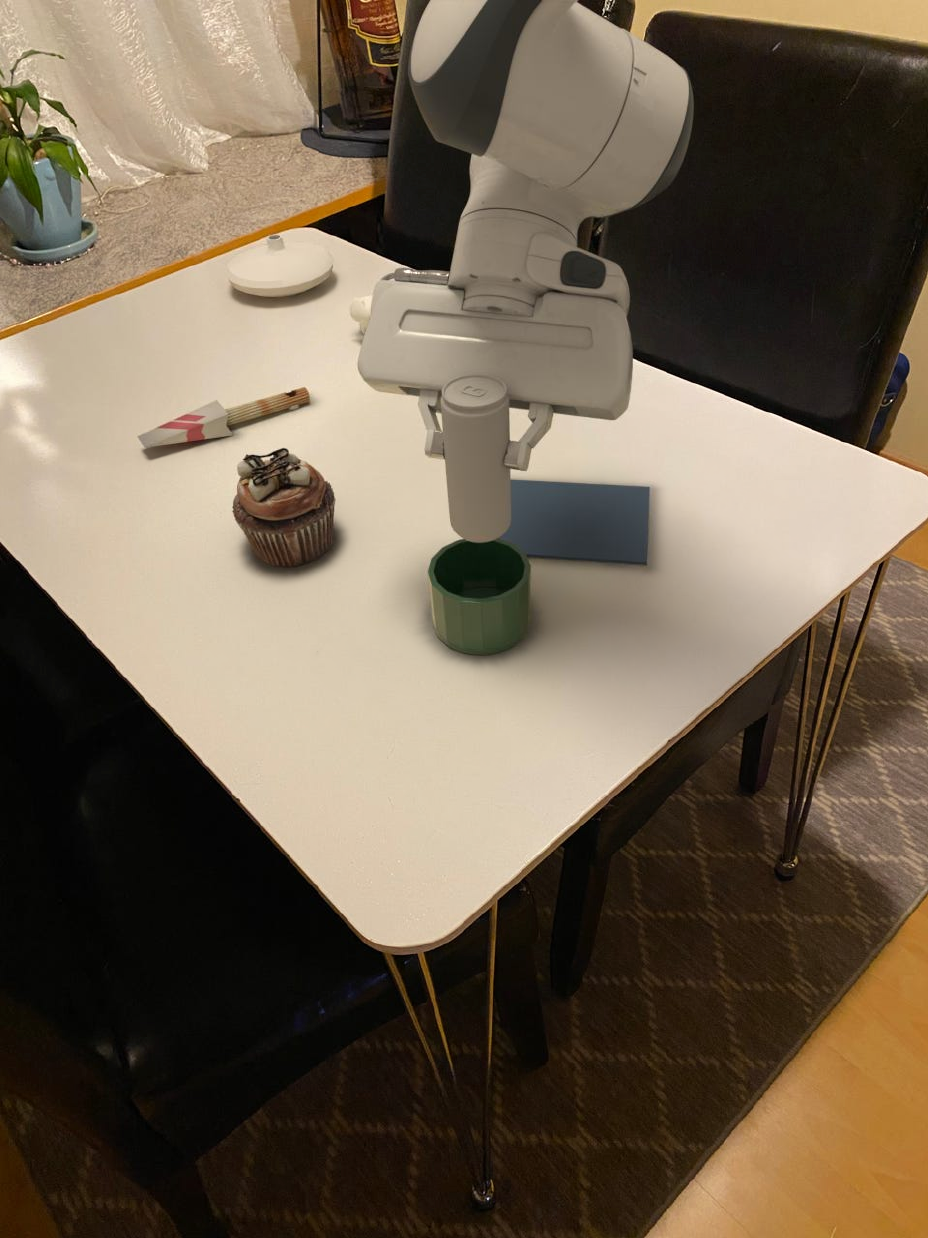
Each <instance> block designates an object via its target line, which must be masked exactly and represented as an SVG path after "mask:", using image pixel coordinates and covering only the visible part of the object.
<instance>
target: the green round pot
mask: <svg viewBox="0 0 928 1238" xmlns="http://www.w3.org/2000/svg"><path fill="white" fill-rule="evenodd" d="M427 568H428V569H427V579H428V589H429V598H430V599H429V600H430V609H431V619H432V622H433V628H434V632H435V633H436V635H437V637H438V638H439V640H440V641H441V642H442V643H443V644H445V645H446V646H447V647H449V648H451V649H452V650H453V651H457V652H459V653H462V654H467V655H473V656H474V655H475V656H481V655H482V656H484V655H485V656H487V655H493V654H498V653H501V652H504V651H507V650H508V649H510V648H512V647H514V646H515V645H517V644H518V643H520V642H521V641H522V640H523V638H524V637H525V636H526V634H527V633H528V631H529V629H530V625H531V614H532V565H531V563H530V560H529V557H527V556H526V553H525V552H523V551H522V550H521V549H520V548H518V547H517V546H516V545H515V544H513V543H511V542H508V541H505V540H502V539H499V538H497V539H495V540H492V541H489V542H482V543H477V542H471V541H467V540H465V539H463V538H460V539H458V540H455V541H453V542H451V543H449V544H446V545H445V546H443V547H441V548H440V549H439V550H438V552H436V553H435V554H434V555H433V556H432V558H431V559H430V562H429V566H428V567H427Z"/></svg>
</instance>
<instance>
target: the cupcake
mask: <svg viewBox="0 0 928 1238" xmlns="http://www.w3.org/2000/svg"><path fill="white" fill-rule="evenodd" d="M263 458H269V459H267V460H263ZM236 466H237V469H236V471H237V475H238V476H239V477H240V478H239V480H238V482H237V485H236V495H235V496H234V498H233V500H232V510H231V512H232V514H233V517H234V521H235V522H236V524H237V525H238V527H239V528H240V530H241V531H242V533H243V534H244V535H245V537H246V539H247V541H248V543H249V546H250V547H251V550H252V551H253V552H254V554H255V555H256V556H257V558H259V559H260V561H261V562H264V563H266V564H267V565H269V566H273V567H276V568H277V567H278V568H297V567H300V566H303V565H305V564H308V563H312V562H314V561H317V560H318V559H320V558H322V556H324V555H325V553H327V552H328V551H329V550H330V548H331V546H332V545H333V541H334V523H335V521H334V518H335V506H336V500H337V499H336V497H335V491H334V488H333V487H332V485H331V483H330V482H329V481H328V480H325V478H324V476H323V475H322V473H321V472H319V470H318V469H316V468H315V467H314V466H312V465H311V464H310V463H308V462H307V461H305V460H303V459H300V458H299V457H298V456H297V455H296V454H294V453H290V451H289V449H288V448H285V447H282V448H278V449H276V450H273V451H272V452H270V453H268V454H263V455H258V454H253V453H252V454H247V453H246V454H245V456H244V458H242V460H241V461H240V462H239V461H238V463H237V465H236Z"/></svg>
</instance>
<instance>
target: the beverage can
mask: <svg viewBox="0 0 928 1238" xmlns="http://www.w3.org/2000/svg"><path fill="white" fill-rule="evenodd" d="M440 401H441V414H440V415H441V427H442V432H443V441H444V453H445V460H444V465H445V478H446V489H447V503H448V513H449V524H450V527H451V528H452V530H453V531H454V532H455V533H456V534H457V536H459V537H460V538H461V539H465V540H467V541H471V542H477V543H482V542H489V541H492V540H495V539H497V538H499V537H500V536H501V535H503V534H504V533H505V532H506V531H507V529H508V528H509V526H510V524H511V479H512V478H511V469H508V468H507V467H506V466H505V465H504V459H505V455H506V454H507V453H508V452H507V450H506V448H507V444H508V441H511V431H510V430H511V429H510V428H511V425H510V423H511V422H510V408H509V396H508V393H507V387H506V384H505V383H504V382H503V381H502V380H500V379H499V378H497V377H494V376H491V375H486V374H467V375H462V376H458V377H456V378H453V379H451V380H450V381H448V382H447V383H446V384H445V385H444V386H443V389H442V397H441V400H440Z"/></svg>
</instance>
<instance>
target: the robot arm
mask: <svg viewBox="0 0 928 1238" xmlns="http://www.w3.org/2000/svg"><path fill="white" fill-rule="evenodd" d="M578 1H579V0H429V2H428V3H427V5H426V7H425V8H424V11H423V13H422V15H421V18H420V19H419V22H418V24H417V27H416V31H415V33H414V36H413V39H412V42H411V45H410V51H409V55H408V56H409V57H408V60H407V61H408V62H407V63H408V64H407V75H408V80H409V84H410V87H411V91H412V94H413V97H414V99H415V102H416V104H417V108H418V110H419V112H420V114H421V116H422V118H423V120H424V122H425V124H426V126H427V128H428V130H429V132H430V133H431V136H432V137H433V139H434V140H435V141H436V142H438V143H439V144H443V145H447V146H449V147H452V148H455V149H458V150H461V151H462V152H466V153H468V154H471V157H470V162H469V179H470V192H469V197H468V200H467V203H466V205H465V207H464V208H463V210H462V213H461V215H460V218H459V222H458V227H457V232H456V238H455V239H456V240H455V242H454V249H453V255H452V259H451V264H450V271H448V270H437V269H436V270H435V269H426V270H423V269H422V270H420V269H419V270H418V269H413V268H410V267H399V268H395V269H394V272H391V273H388V274H385V275H384V276H383V277H381V279H379V280H378V281H376V283H375V285H374V288H373V293H372V295H373V297H372V303H371V317H370V320H369V323H368V326H367V329H366V332H365V334H363V338H362V342H361V346H360V349H359V354H358V357H357V363H356V364H357V370H358V371H357V372H358V373H359V375H360V377H361V379H362V380H363V381H364V383H365V384H367V385H368V386H369V387H370V388H372V389H373V390H374V391H377V392H378V393H385V394H393V395H399V396H400V395H401V396H402V395H403V396H408V397H409V396H410V397H417V398H418V401H417V406H418V409H419V412H420V415H421V417H422V420H423V424H424V426H425V429H426V430H427V432H426V433H427V434H426V439H425V444H424V455H425V456H426V457H428V458H429V459H437V460H444V461H445V453H444V441H443V430H442V429H441V425H440V422H439V419H438V416H437V414H439V415H441V401H440V400H441V397H442V389H443V386H444V385H445V384H446V383H447V382H448V381H450V380H451V379H453V378H456V377H458V376H462V375H467V374H486V375H491V376H494V377H497V378H499V379H500V380H502V381H503V382H504V383H505V384H506V387H507V393H508V396H509V409H516V410H524V411H528V414H527V418H528V419H529V421H530V422H531V424H530V426H529V427H528V429H527V430H526V431H525V432H524V434H523V435H522V436H521V437H520V439H519V440H518V441H516V440H510V441H508V444H507V448H506V450H507V452H508V453H507V454H506V455H505V459H504V465H505V466H506V467H507V468H508V469H510V470H514V471H515V470H516V471H521V472H528V469H529V466H530V465H529V464H530V459H531V454H532V450H533V449H535V448H536V446H537V445H538V444H539V443H540V441H541V440H542V439H543V438H544V436H545V435H546V434H547V433H548V432H549V431H550V430H551V428H552V423H553V417H554V414H555V415H565V416H573V417H580V418H589V419H597V420H605V421H616V420H618V419H619V418H621V416H622V415H624V413H626V412H627V410H628V409H629V406H630V401H631V394H632V386H633V385H632V384H633V369H634V347H633V340H632V333H631V329H630V326H629V321H628V318H627V317H628V314H629V310H630V305H631V304H630V303H631V293H630V287H629V286H630V285H629V284H628V280H627V277H626V275H625V273H624V271H623V269H622V267H621V266H620V265H619V264H617V263H616V262H613V261H611V260H609V259H606V258H604V257H601V256H599V255H597V254H594V253H592V252H589V251H587V250H586V249H582V248H581V247H578V232H579V228H580V225H581V224H582V222H584V220H586V219H587V218H590V217H593V218H594V219H595V218H596V219H604V218H608V217H613V216H615V215H616V216H617V215H619V214H622V213H625V212H629V211H631V210H633V209H636V208H638V207H641V206H643V205H644V204H646V203H648V202H650V201H651V200H653V199H654V198H656V197H657V196H659V195H660V194H661V193H663V192H664V191H666V190H667V189H668V188H669V187H670V186H671V184H672V183H673V182H674V180H675V178H676V177H677V175H678V174H679V171H680V169H681V167H682V165H683V163H684V159H685V156H686V154H687V151H688V147H689V144H690V139H691V134H692V129H693V122H694V110H695V106H694V105H695V101H694V93H693V87H692V82H691V80H690V76H689V74H688V72H687V70H686V69H685V68H684V67H683V66H681V65H679V64H678V63H677V62H676V61H674V60H673V59H672V58H671V57H669V56H668V55H667V54H665V53H664V52H662V51H661V50H659V49H657V48H656V47H654V46H653V45H651V44H650V43H648V42H646V41H644V40H643V39H641V37H638V36H637V35H635V34H633V33H631V32H630V31H629V30H627V29H625V28H620V27H619V26H617V25H615V24H614V23H612V22H610V21H609V20H607V19H605V18H604V17H602V16H600V15H599V14H597V13H596V12H594V11H592V10H591V9H590V8H587V7H586V6H584V5H583V4H581V3H579V2H578Z"/></svg>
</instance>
